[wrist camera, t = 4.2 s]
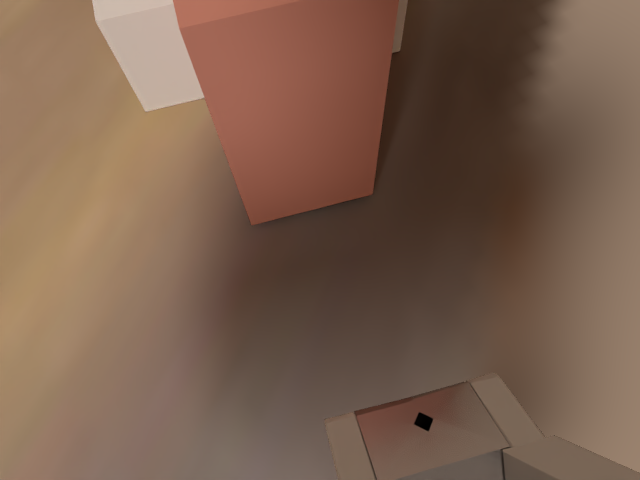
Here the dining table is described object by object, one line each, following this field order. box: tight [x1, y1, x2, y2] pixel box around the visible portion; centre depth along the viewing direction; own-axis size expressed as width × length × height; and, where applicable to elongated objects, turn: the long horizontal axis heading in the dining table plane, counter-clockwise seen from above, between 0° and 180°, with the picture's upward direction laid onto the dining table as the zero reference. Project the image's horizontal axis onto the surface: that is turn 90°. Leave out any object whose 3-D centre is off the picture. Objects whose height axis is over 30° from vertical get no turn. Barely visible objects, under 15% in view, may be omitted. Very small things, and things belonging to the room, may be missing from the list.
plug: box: [173, 0, 399, 225], centre depth 17 cm, size 9×4×10 cm, turn 15°
